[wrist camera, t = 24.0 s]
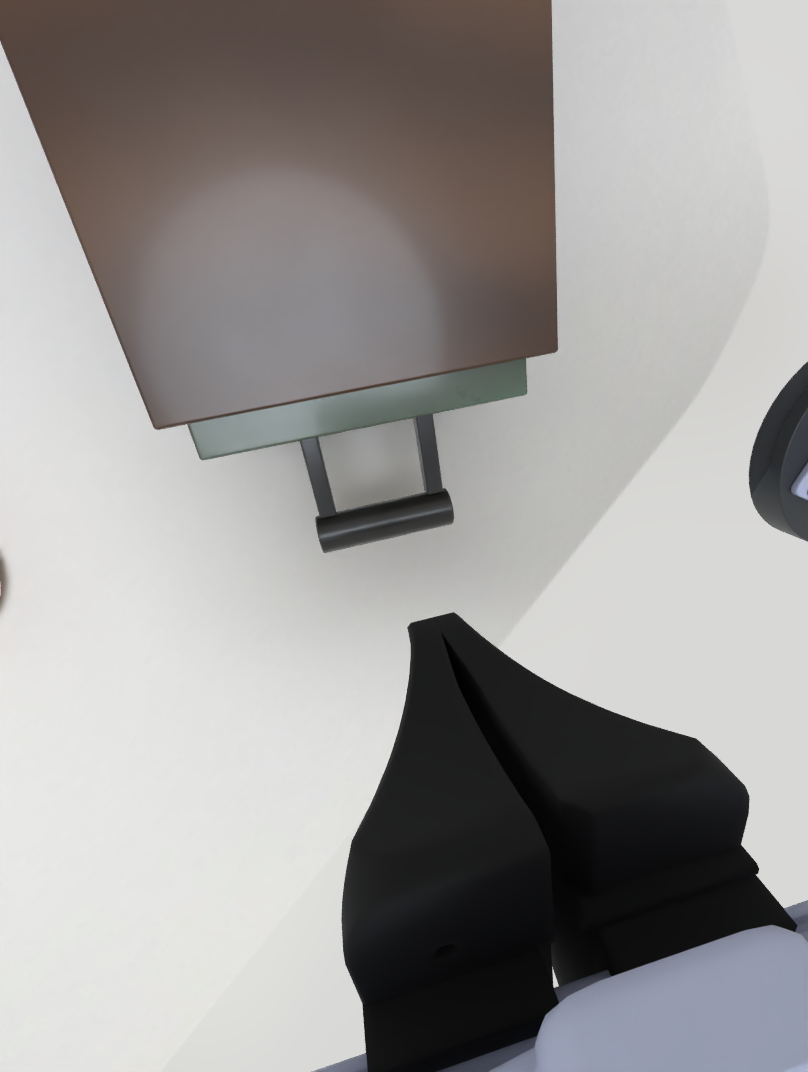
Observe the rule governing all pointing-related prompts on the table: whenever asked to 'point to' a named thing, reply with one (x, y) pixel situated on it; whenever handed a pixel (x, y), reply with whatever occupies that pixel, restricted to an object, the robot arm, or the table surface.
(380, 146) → the cabinet
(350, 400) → the drawer
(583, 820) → the robot arm
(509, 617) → the table surface
